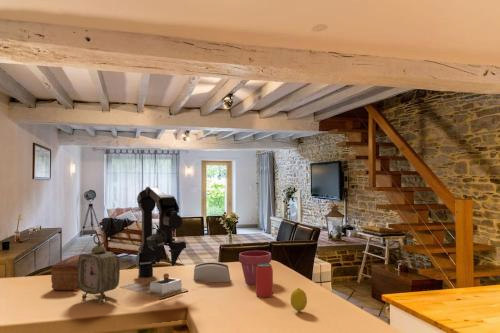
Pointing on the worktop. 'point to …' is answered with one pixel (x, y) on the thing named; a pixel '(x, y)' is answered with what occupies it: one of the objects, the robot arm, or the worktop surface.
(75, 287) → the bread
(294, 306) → the lemon
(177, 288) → the hollow metal box
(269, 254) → the plant pot
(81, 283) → the tabletop clock
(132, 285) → the board
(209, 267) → the grey rounded block
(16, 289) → the worktop surface
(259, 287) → the beer can
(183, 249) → the robot arm
